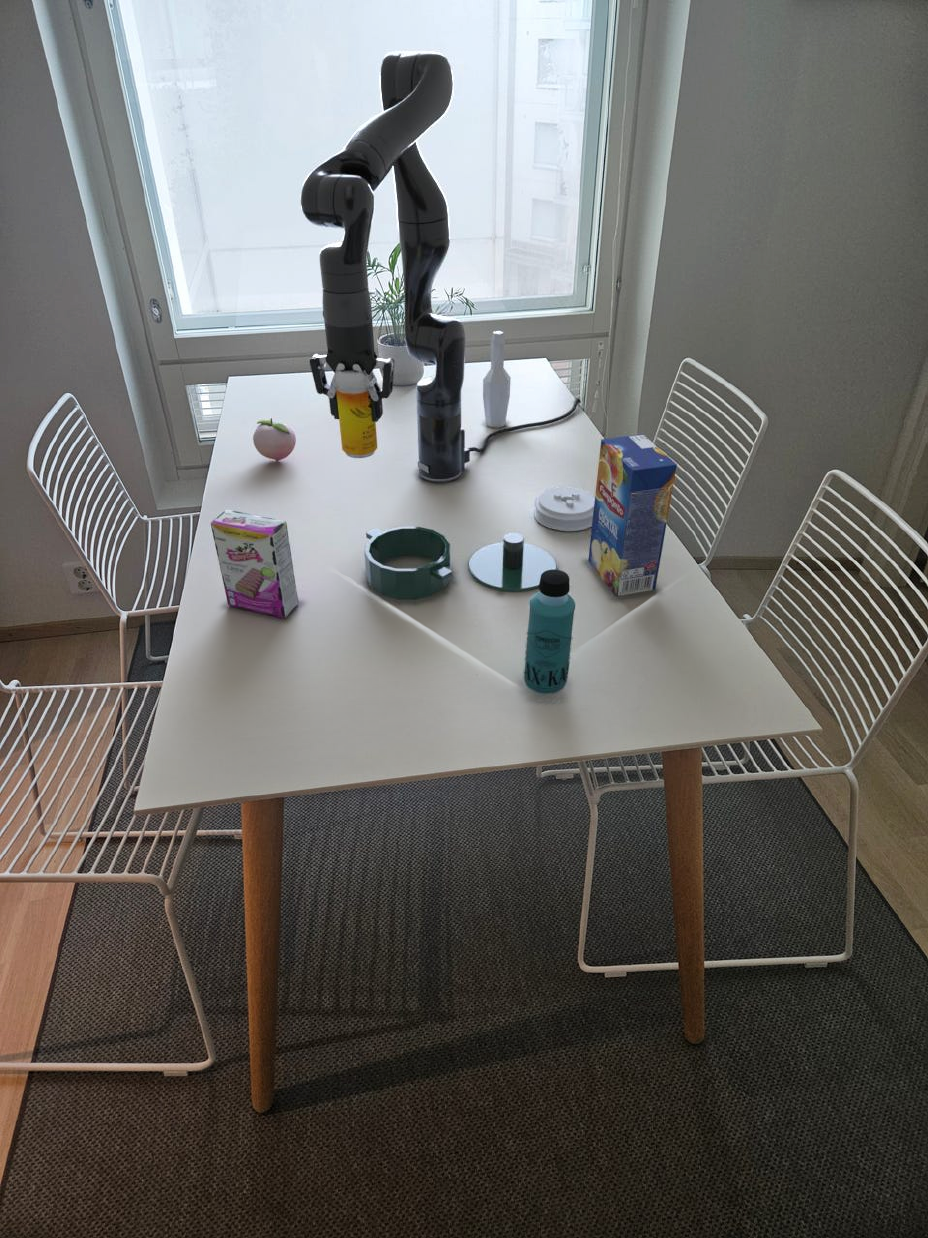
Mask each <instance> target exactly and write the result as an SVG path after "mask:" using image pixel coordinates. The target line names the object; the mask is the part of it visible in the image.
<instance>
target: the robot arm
mask: <svg viewBox="0 0 928 1238" xmlns="http://www.w3.org/2000/svg"><path fill="white" fill-rule="evenodd" d="M454 87H455V86H454V75H453V70H452V65H451V63H450V61H449V59H448V58H447V57H446V56H445V55H444V54H442V53H441V52H436V51H429V50H428V51H427V50H425V51H392V52H391V51H390V52H388V53H386V54H385V56H384V57H383V59H382V61H381V65H380V71H379V90H380V100H381V106H382V112H380V113H378V114H377V115H375V116H373V117H371V118H370V119H368V120H367V121H366V122H365V123H363V124H362V125H361V126H360V127H359V128H358V129H357V130H356V131H355V132H354V133H353V134H352V136H351V138H350V139H349V140H348V142H347V143H346V145H344V147H343V149H342V150H341V151H339V152H338V153H336V154H334V155H332V156H330V157H329V158H328V159H326V160H324V161H323V162H322V163H320V164H319V165H318V166H316V167H315V168H313V170H311V172H310V173H309V174H308V175H307V176H306V178H305V180H304V182H303V183H302V187H301V191H300V199H299V200H300V201H299V202H300V207H301V211H302V213H303V215H304V217H305V218H306V219H307V221H308V222H310V223H311V224H312V225H315V226H317V227H322V228H334V229H343V231H344V233H343V234H344V235H343V237H342V241H341V242H336V243H332V244H328V245H326V246H324V247H323V248H321V250H320V252H319V269H320V277H321V286H322V317H323V322H324V323H323V324H324V331H325V341H326V349H327V352H326V354H323V355H322V354H320V353H315V354H314V355H313V356H312V357H311V358H310V359H309V366H310V370H311V374H312V377H313V382H314V386H315V391H316V393H317V394H318V395H325V396H326V397H328V403H329V410H330V411H329V412H330V414H331V416H332V417H333V419H334V420H339V413H338V403H337V393H336V378H335V376H336V374H337V372H338V371H341V372H344V371H349V370H350V371H355V372H361V373H362V374H363V375H364V377H365V378H366V389H369V395H370V396H371V398H372V401H371V407H372V420H373V422H376V423H377V422H379V420H380V419H381V418H382V416H383V414H384V409H383V408H384V407H383V399H388V398H389V397H390V396H391V394H392V393H393V390H394V379H395V378H394V376H395V362H396V361H395V359H394V358H393V357H389V358H387V359H386V358H380V357H378V355H377V353H376V351H375V339H374V324H373V309H372V300H371V295H370V288H369V278H368V277H369V276H368V265H367V264H368V263H367V257H368V249H369V242H370V235H371V231H372V230H371V229H372V225H373V221H374V215H375V209H376V208H375V206H376V205H375V196H374V192H375V191H376V190H378V189H379V187H380V186H381V185H382V183H383V181H384V180H385V179H386V177H387V175H388V174H389V173H390V171H391V170H392V174H393V184H394V194H395V203H396V219H397V230H398V239H399V245H400V254H401V264H402V278H403V298H404V301H403V303H404V305H403V306H404V307H403V308H404V309H403V310H404V342H405V347H406V350H407V353H408V355H409V357H410V358H411V359H412V360H415V361H417V362H419V363H424V364H429V365H432V366H435V375H431V376H427V377H424V378H422V379H421V380H419V381H418V382H417V383H416V387H415V397H416V398H415V399H416V422H417V423H416V425H417V426H416V427H417V428H416V429H417V451H418V452H417V453H418V461H417V468H418V475H419V477H420V478H421V479H422V480H425V481H428V482H430V483H431V482H432V483H449V482H452V481H456V480H457V479H459V478H460V477H461V476H462V474H463V472H465V471H466V467H465V466H466V464H467V463H469V462H471V461H470V460H471V459H470V458H471V457H470V455H471V452H476V453H482V452H484V451H485V449H486V447H487V445H488V442H489V440H490V439H492V438H493V437H496V436H497V435H500V434H505V433H507V432H508V433H509V432H513V431H517V430H522V429H526V428H534V427H541V426H546V425H551V424H553V423H555V422H559V421H561V420H564V419H566V418H567V417H569V416H571V415H572V414H573V413H574V412H575V410H576V409H577V407H578V404H581V402H582V401H581V399H580V398H578V397H577V398H575V399H574V402H573V405H572V407H571V409H570V410H569V411H567V412H566V413H563V414H562V415H560V416H558V417H554V418H551V419H546V420H543V421H538V422H531V423H524V424H519V425H514V426H510V427H505V428H502V429H498V430H496V431H495V430H494V432H490V433H489V434H488V435H487V436H486V437H485V438H484V440H483V442H482V445H481V447H480V448H478V447H475V446H472V447H466V445H465V444H466V439H465V438H466V431H465V429H464V428H462V390H463V384H464V380H465V365H466V364H465V363H466V344H467V341H466V340H467V339H466V331H465V326H464V325H463V323H462V322H461V321H460V320H459V319H456V318H453V317H448V316H444V315H439V314H434V312H433V307H432V291H433V290H432V289H433V284H434V281H435V279H436V276H437V275H438V273H439V270H440V268H441V266H442V264H443V262H444V260H445V258H446V257H447V254H448V252H449V247H450V243H451V234H450V233H451V232H450V215H449V206H448V201H447V199H446V196H445V194H444V192H443V190H442V187H441V185H440V184H439V183H438V181H437V179H436V177H435V176H434V175H433V173H432V171H431V169H430V168H429V166H428V165H427V162H426V161H425V159H424V157H423V154H422V153H421V149H420V148H419V145H418V140H419V139H420V138H421V137H422V136H423V135H424V134H425V133H426V132H427V131H429V130H430V129H431V127H433V126H434V125H436V124H437V123H438V122H439V121H440V120H441V119H443V117H444V116H445V114H447V112H448V110H449V109H450V106H451V103H452V100H453V96H454ZM327 366H328V367H329V368H330V369H331V370H332V371H333V373H334V374H333V377H332V379H331V382H330V384H329V383H328V380H327V375H326V371H325V368H326V367H327ZM376 366H377V367H378V368H379V372H380V373H381V374H382V387H380V385H379V383H378V379H377V377H376V374H375V373H374V369H375V368H376ZM364 370H365V372H366V374H367V375H370V373H371V372H372V381H371V382H370V381H369V379H368V377H367V376H366V374H365V372H364Z"/></svg>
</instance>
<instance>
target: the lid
mask: <svg viewBox="0 0 928 1238" xmlns="http://www.w3.org/2000/svg"><path fill="white" fill-rule="evenodd" d="M594 502H595V495H593V494H592V493H591V492H589V491H587V490H585V489H584V488H580V487H575V486H555V487H551V488H548V489H546V490H544V491H543V492H540V493H539V494H538V495H537V496H536V497H535V499H534V507H535V508H534V510H533V516H534V518H535V520H536V521H537V523H539V524H541V525H542V526H544V527H546V528H549V529H551V530H555V531H561V532H578V531H583V530H587V529H590V528H592V520H593V511H594Z"/></svg>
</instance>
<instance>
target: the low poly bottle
mask: <svg viewBox="0 0 928 1238" xmlns="http://www.w3.org/2000/svg"><path fill="white" fill-rule="evenodd" d="M489 344H490V369H489V370H488V372H487V373H486V374H485V376H484V378H483V380H482V402H483V410H484V419H485V420H484V421H485V425H486V426H488V427H489V428H498V429H499V428H502V427H504V426H505V425H506V423H507V422H506V421H507V416H508V411H509V410H508V409H509V403H510V396H511V375H510V374H509V373H508V372H507V370H506V369H505V367H504V362H505V349H506V348H505V347H506V338H505V333H504V331H501V330H494V331H493V332H492V335H491V339H490V342H489Z"/></svg>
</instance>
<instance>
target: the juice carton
mask: <svg viewBox="0 0 928 1238" xmlns="http://www.w3.org/2000/svg"><path fill="white" fill-rule="evenodd" d="M597 465H598V466H597V475H596V484H595V493H594V497H595V502H594V511H593V520H592V526H591V531H590V540H589V550H588V557H587V561H588V562H589V563H590V565H591V566H592V567H593V569H594V570H595V571H596V572H597V574H598V575H599V577H600V578H601V579H602V581H603V582H604V583H605V584H606V585H607V587H608V588H609V589H610V591H611V592H612V593H613V595H614V596H615V597H618V596H624V595H630V594H635V593H642V592H646V591H647V592H648V591H652V590H656V587H657V581H658V577H659V570H660V564H661V558H662V552H663V547H664V541H665V536H666V529H667V524H668V518H669V512H670V507H671V500H672V495H673V489H674V483H675V479H676V478H675V477H676V472H677V467H678V464H677V463H676V462H675V461H674V460H672V458H670V456H668V455H667V454H666V453H665V452H664V451H662V450H661V449H660V448H659V447H658V446H657V445H655V444H654V443H653V442H652V441H651V440H650V439H649V438H648V437H646V435H644V434H643V433H641V434H634V435H626V436H619V437H618V436H617V437H609V438H601V439H600V448H599V457H598V464H597Z"/></svg>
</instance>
